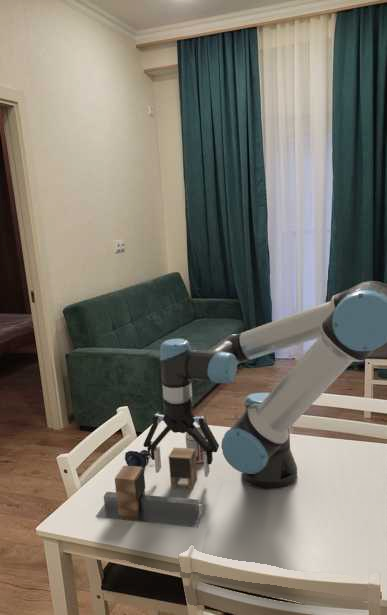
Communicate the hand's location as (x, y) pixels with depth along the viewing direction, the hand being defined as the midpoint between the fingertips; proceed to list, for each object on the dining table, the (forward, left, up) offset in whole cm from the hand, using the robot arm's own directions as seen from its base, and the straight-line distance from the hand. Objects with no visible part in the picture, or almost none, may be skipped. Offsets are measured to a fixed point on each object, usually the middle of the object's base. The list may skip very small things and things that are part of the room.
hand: (182, 472), depth 131 cm
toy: (+16, -10, -5) cm, 19 cm away
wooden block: (+10, +13, -3) cm, 17 cm away
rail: (+5, +13, -4) cm, 15 cm away
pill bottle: (0, -15, -4) cm, 16 cm away
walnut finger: (0, 0, -4) cm, 4 cm away
